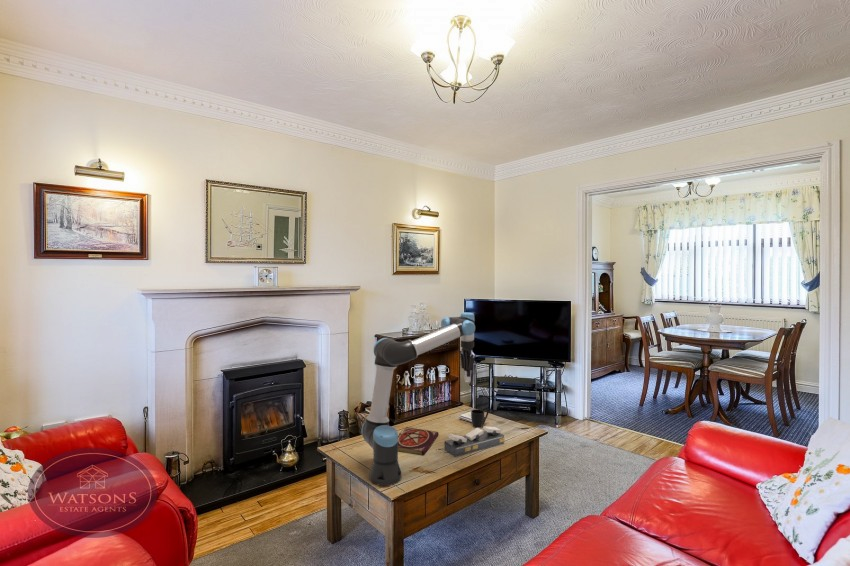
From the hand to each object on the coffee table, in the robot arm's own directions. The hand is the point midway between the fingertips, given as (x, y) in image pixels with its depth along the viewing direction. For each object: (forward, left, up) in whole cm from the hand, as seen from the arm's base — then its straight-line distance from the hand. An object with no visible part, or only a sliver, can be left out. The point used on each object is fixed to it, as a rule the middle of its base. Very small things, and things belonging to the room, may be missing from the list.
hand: (467, 381), depth 237 cm
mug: (+25, +20, -37) cm, 49 cm away
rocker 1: (-9, -4, -31) cm, 33 cm away
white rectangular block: (+3, -3, -31) cm, 32 cm away
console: (+3, -4, -36) cm, 37 cm away
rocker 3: (+15, -4, -31) cm, 35 cm away
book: (-24, +19, -37) cm, 48 cm away
